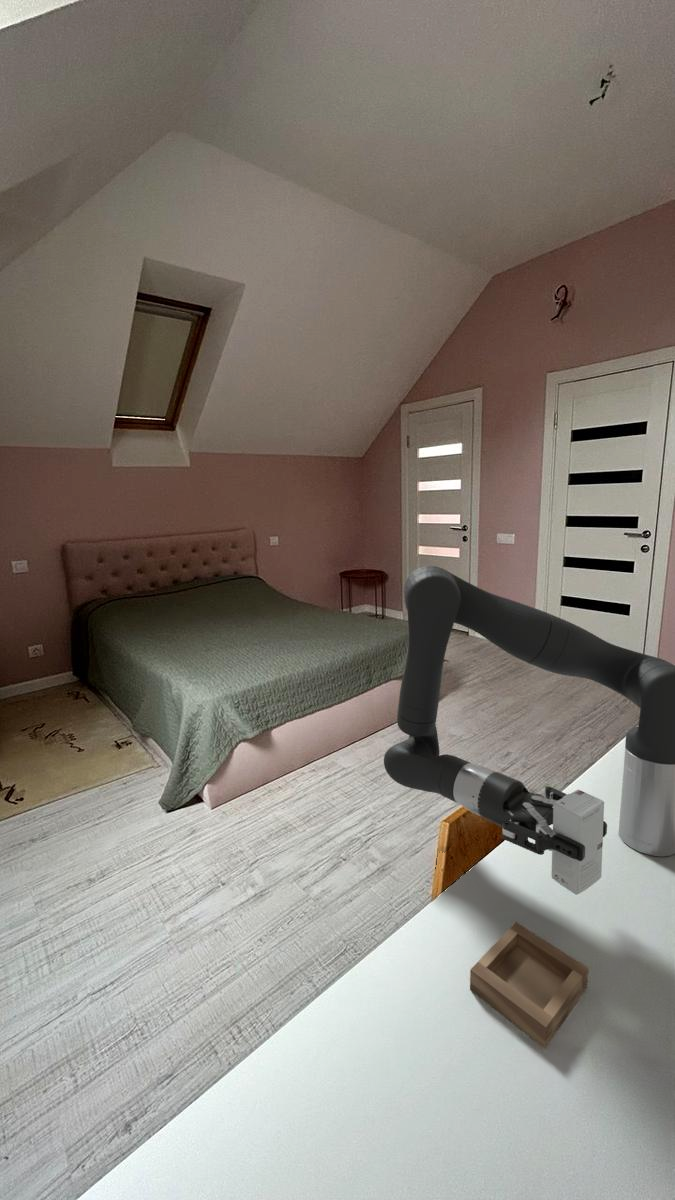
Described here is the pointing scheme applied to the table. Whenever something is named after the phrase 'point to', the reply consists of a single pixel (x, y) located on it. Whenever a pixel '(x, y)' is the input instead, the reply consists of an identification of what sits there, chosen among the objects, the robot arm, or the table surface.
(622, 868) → the table surface
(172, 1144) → the table surface
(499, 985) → the wooden tray
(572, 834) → the skincare box
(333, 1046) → the table surface
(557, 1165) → the table surface
